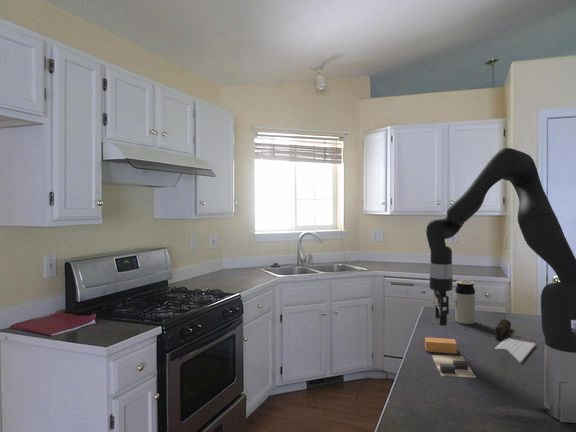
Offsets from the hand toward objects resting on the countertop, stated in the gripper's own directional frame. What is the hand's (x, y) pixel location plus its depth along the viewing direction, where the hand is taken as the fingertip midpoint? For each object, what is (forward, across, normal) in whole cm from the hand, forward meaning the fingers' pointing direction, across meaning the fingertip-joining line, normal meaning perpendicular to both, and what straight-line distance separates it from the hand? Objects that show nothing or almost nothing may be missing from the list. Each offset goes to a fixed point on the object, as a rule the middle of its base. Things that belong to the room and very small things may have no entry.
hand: (440, 321), depth 146 cm
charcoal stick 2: (+10, -16, -3) cm, 19 cm away
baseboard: (+12, +3, -23) cm, 26 cm away
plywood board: (+11, -14, -1) cm, 18 cm away
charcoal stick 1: (+10, -20, +2) cm, 22 cm away
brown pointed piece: (+12, +26, -28) cm, 40 cm away
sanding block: (+12, 0, 0) cm, 12 cm away
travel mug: (+12, +41, -18) cm, 46 cm away
